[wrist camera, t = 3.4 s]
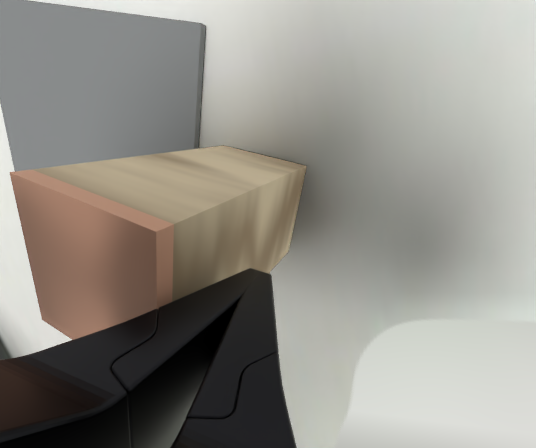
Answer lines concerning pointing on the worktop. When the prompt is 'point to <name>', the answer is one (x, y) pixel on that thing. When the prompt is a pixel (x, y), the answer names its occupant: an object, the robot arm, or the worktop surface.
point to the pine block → (150, 229)
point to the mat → (96, 84)
